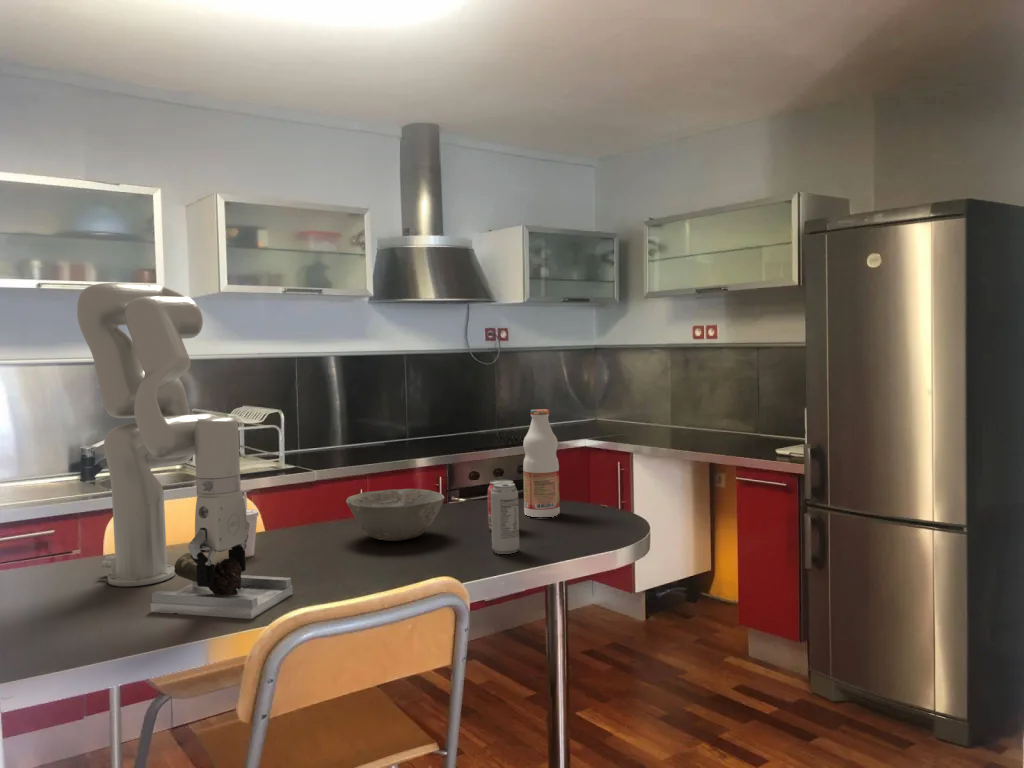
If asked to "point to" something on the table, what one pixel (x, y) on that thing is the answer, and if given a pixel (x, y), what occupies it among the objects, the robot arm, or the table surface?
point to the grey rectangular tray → (225, 598)
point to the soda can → (490, 497)
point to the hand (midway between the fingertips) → (222, 578)
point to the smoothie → (250, 529)
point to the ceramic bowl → (395, 512)
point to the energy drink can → (505, 518)
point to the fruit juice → (541, 468)
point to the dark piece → (224, 573)
